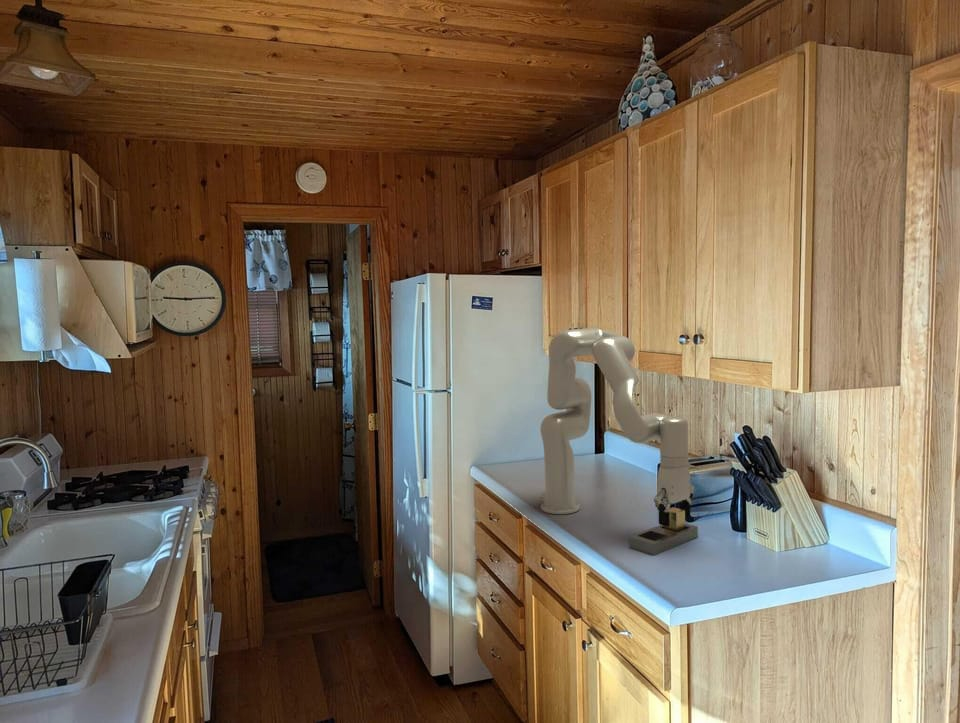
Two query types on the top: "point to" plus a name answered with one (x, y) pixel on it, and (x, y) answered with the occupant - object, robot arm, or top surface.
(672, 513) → the yellow rectangular block
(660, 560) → the top surface
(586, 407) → the robot arm
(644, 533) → the grey slotted block
